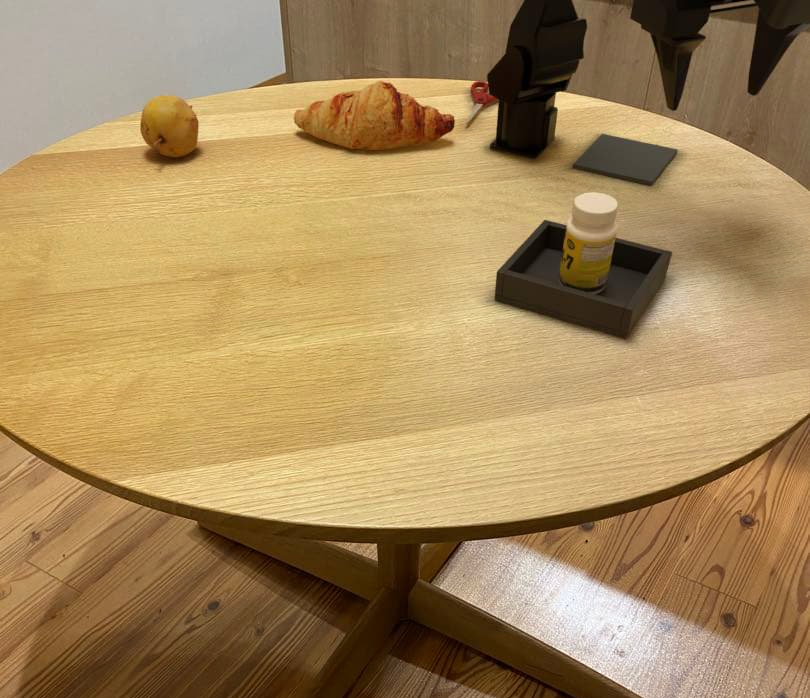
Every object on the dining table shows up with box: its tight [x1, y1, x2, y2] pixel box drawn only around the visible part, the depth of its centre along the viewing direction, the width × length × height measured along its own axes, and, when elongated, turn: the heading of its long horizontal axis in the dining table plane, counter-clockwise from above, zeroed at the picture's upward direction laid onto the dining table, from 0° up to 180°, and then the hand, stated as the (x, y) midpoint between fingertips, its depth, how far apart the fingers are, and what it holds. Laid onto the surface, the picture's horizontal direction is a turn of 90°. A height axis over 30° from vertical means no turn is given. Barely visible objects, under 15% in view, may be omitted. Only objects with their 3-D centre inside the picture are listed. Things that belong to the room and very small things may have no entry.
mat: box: [572, 133, 679, 186], centre depth 98 cm, size 10×10×1 cm
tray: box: [494, 219, 673, 340], centre depth 78 cm, size 14×12×3 cm
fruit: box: [139, 94, 199, 158], centre depth 98 cm, size 7×7×10 cm
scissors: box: [465, 80, 499, 125], centre depth 109 cm, size 5×14×1 cm, turn 161°
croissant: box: [293, 80, 456, 151], centre depth 101 cm, size 21×10×8 cm, turn 81°
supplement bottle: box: [558, 192, 619, 294], centre depth 75 cm, size 5×5×8 cm
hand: (712, 101), depth 76 cm, fingers open, 9 cm apart
